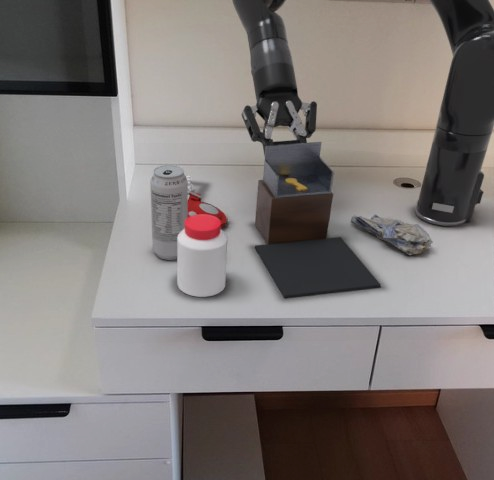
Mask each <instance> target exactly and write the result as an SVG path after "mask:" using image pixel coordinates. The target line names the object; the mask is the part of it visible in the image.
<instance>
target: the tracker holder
mask: <svg viewBox="0 0 494 480" xmlns="http://www.w3.org/2000/svg"><path fill="white" fill-rule="evenodd" d="M202 199H203V196H202V195H201V193H198V192H196V191H189V192H188V217H190V216H192V215H197V214H208V215H212V216H215V217H217V218H218V219H219V220H220V221H221V229H222V228H224V227H225V226H226V224H227V221H228V218H227V216H226V214H225V213H224V212H223V211H222V210H221V209H220V208H218V207H217V206H215V205H213V204H210V203H208V202H206V201H202Z"/></svg>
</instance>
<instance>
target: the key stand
mask: <svg viewBox="0 0 494 480" xmlns="http://www.w3.org/2000/svg"><path fill="white" fill-rule="evenodd" d="M333 199H334V193H333V191H331V193H329V194H318V195H306V196H295V197H283V198H274V196H273V195H272V193H271V192H270V191H269V189H268V188H267V186H266V185H265V183H264V182H263V179H258V181H257V191H256V203H255V204H256V205H255V206H256V207H255V217H254V218H255V219H254V226H255V227H256V229H257V230H258V232H259V235H261V237H262V239H263V240H264V242H265V244H275V243H285V242H296V241H306V240H316V239H326V238H328V232H329V224H330V220H331V219H330V218H331V211H332V207H333V206H332V205H333Z"/></svg>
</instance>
